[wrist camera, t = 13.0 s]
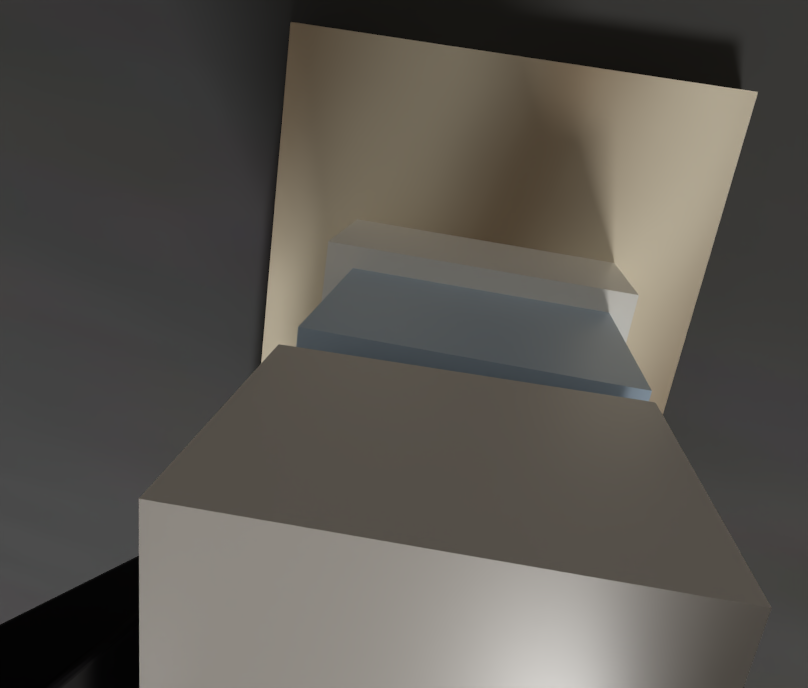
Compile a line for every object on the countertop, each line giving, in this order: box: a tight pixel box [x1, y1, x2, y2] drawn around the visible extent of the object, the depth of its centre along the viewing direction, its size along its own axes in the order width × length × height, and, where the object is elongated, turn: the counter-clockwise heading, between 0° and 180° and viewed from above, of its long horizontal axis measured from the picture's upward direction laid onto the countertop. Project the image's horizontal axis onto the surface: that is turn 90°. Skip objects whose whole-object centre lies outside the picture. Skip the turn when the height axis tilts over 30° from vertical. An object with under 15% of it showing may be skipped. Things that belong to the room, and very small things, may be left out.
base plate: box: [261, 22, 758, 415], centre depth 18 cm, size 10×14×1 cm
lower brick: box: [322, 219, 639, 343], centre depth 16 cm, size 6×6×3 cm
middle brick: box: [296, 268, 652, 401], centre depth 13 cm, size 5×5×4 cm
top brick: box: [139, 344, 771, 688], centre depth 8 cm, size 5×5×4 cm
